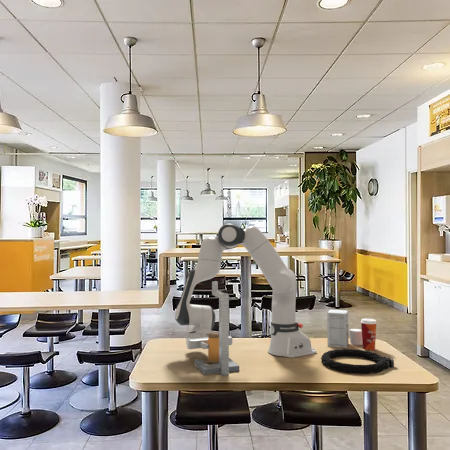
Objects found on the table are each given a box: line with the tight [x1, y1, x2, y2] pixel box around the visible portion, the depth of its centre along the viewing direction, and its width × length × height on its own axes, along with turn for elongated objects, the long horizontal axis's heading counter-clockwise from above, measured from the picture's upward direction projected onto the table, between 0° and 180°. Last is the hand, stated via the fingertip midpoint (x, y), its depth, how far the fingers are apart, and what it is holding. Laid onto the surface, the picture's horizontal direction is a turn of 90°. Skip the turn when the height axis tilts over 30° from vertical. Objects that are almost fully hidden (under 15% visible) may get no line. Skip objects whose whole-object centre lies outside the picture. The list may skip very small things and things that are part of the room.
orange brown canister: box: [207, 332, 219, 364], centre depth 192 cm, size 5×5×12 cm
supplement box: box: [326, 309, 350, 349], centre depth 226 cm, size 10×9×17 cm
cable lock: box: [320, 348, 395, 375], centre depth 194 cm, size 28×4×30 cm
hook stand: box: [211, 280, 230, 377], centre depth 186 cm, size 3×14×36 cm, turn 20°
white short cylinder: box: [348, 328, 363, 346], centre depth 229 cm, size 7×7×7 cm
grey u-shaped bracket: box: [194, 357, 240, 375], centre depth 189 cm, size 15×14×2 cm
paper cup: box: [360, 317, 378, 351], centre depth 219 cm, size 8×8×14 cm
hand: (214, 346), depth 191 cm, fingers closed on orange brown canister, 5 cm apart
